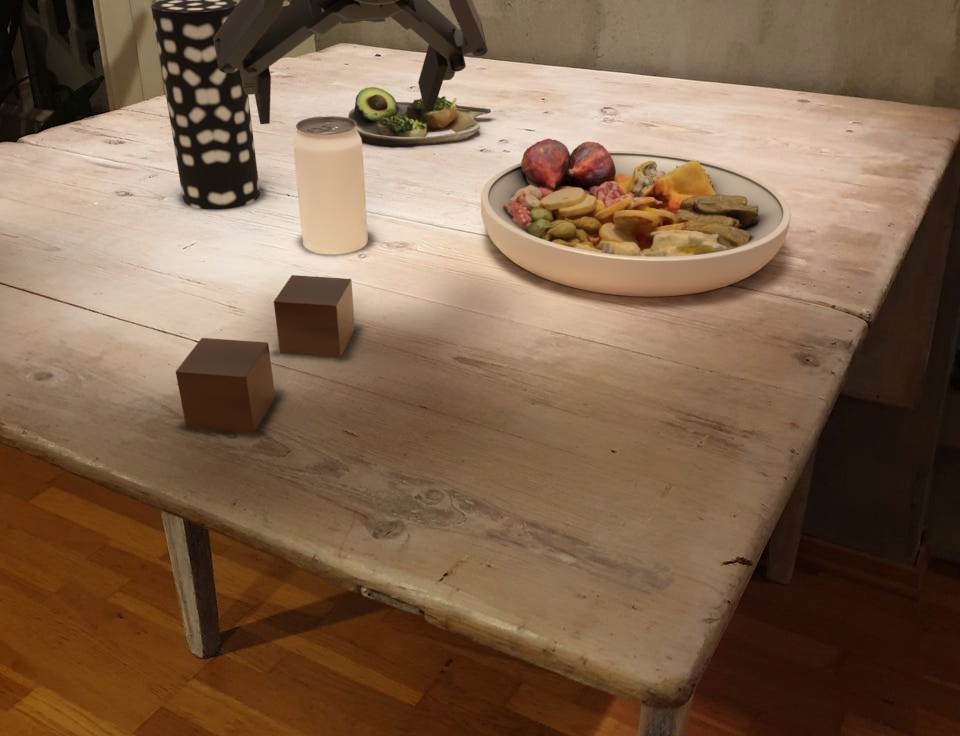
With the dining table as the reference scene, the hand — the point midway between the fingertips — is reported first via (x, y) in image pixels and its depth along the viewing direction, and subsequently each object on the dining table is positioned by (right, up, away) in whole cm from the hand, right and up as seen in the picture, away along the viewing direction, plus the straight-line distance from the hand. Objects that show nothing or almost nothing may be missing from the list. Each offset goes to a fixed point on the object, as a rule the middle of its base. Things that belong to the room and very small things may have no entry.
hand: (345, 102), depth 79 cm
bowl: (+26, -8, +18) cm, 33 cm away
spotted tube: (-18, -1, +28) cm, 33 cm away
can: (-3, -8, +18) cm, 20 cm away
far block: (-2, -20, 0) cm, 20 cm away
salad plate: (+2, +14, +50) cm, 52 cm away
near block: (-7, -26, -9) cm, 28 cm away
